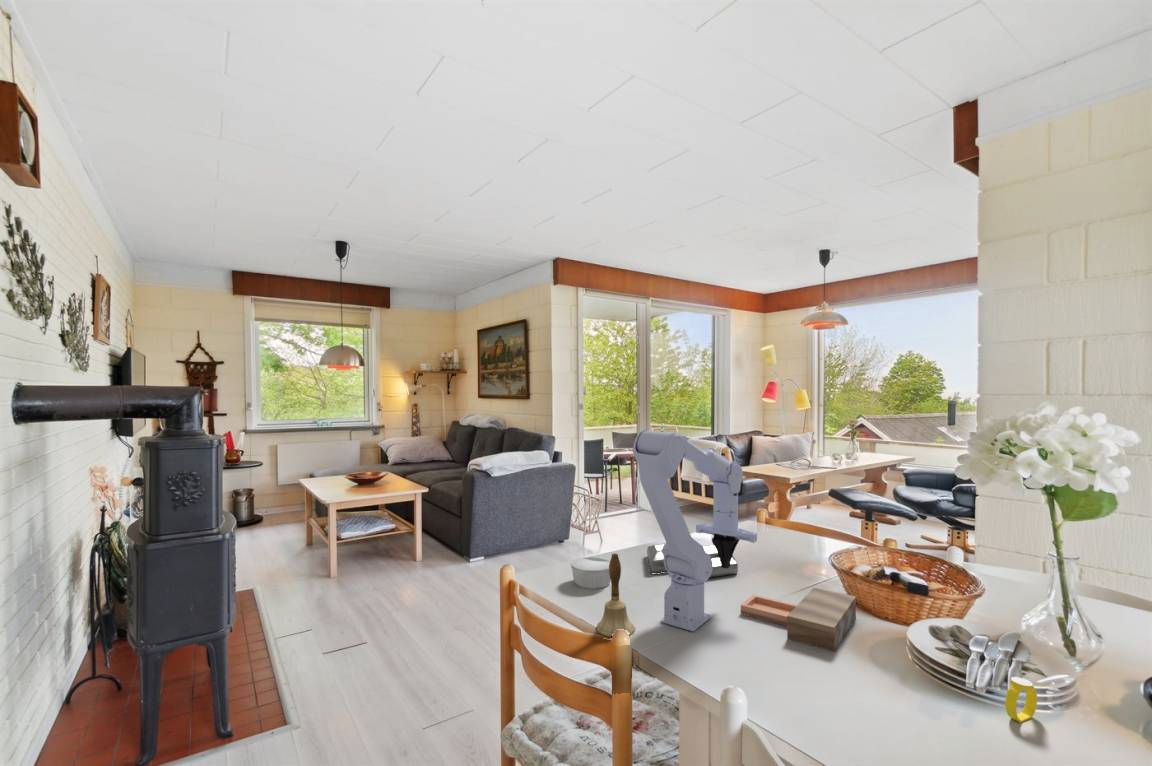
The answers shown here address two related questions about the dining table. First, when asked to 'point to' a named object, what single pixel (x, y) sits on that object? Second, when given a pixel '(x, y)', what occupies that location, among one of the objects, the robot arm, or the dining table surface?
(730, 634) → the dining table surface
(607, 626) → the hand bell
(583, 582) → the ramekin
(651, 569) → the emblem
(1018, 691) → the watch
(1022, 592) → the dining table surface
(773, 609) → the shallow pink tray
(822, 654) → the dining table surface
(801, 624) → the wooden block
